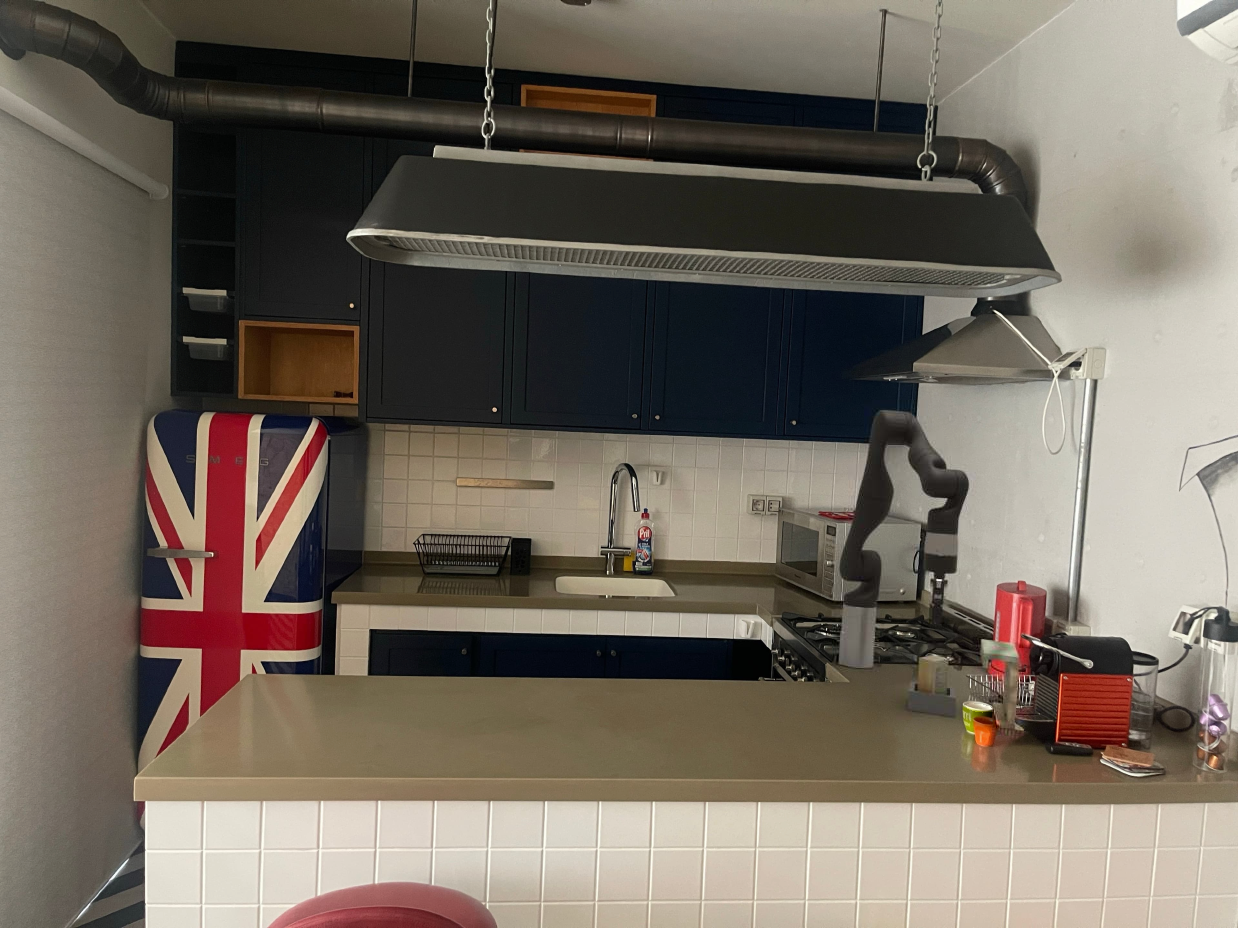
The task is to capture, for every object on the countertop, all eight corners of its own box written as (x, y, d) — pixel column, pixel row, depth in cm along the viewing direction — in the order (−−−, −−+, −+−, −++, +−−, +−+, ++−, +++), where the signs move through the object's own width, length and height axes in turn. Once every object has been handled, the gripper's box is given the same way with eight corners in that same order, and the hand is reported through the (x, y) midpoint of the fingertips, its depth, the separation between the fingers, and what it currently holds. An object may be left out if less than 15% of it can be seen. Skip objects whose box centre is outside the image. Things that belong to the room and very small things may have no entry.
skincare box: (930, 704, 210) (933, 654, 210) (946, 709, 207) (949, 658, 207) (915, 707, 206) (918, 656, 206) (931, 712, 203) (934, 660, 203)
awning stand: (979, 724, 196) (984, 652, 196) (977, 704, 213) (981, 639, 213) (1025, 731, 192) (1030, 658, 192) (1019, 710, 209) (1023, 644, 209)
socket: (907, 709, 204) (908, 690, 204) (909, 699, 214) (910, 681, 214) (954, 717, 200) (955, 697, 200) (954, 706, 210) (955, 687, 210)
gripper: (925, 548, 215) (920, 613, 215) (923, 553, 201) (919, 622, 202) (957, 551, 212) (953, 616, 212) (958, 556, 199) (953, 626, 199)
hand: (936, 619), depth 207 cm, fingers open, 8 cm apart
